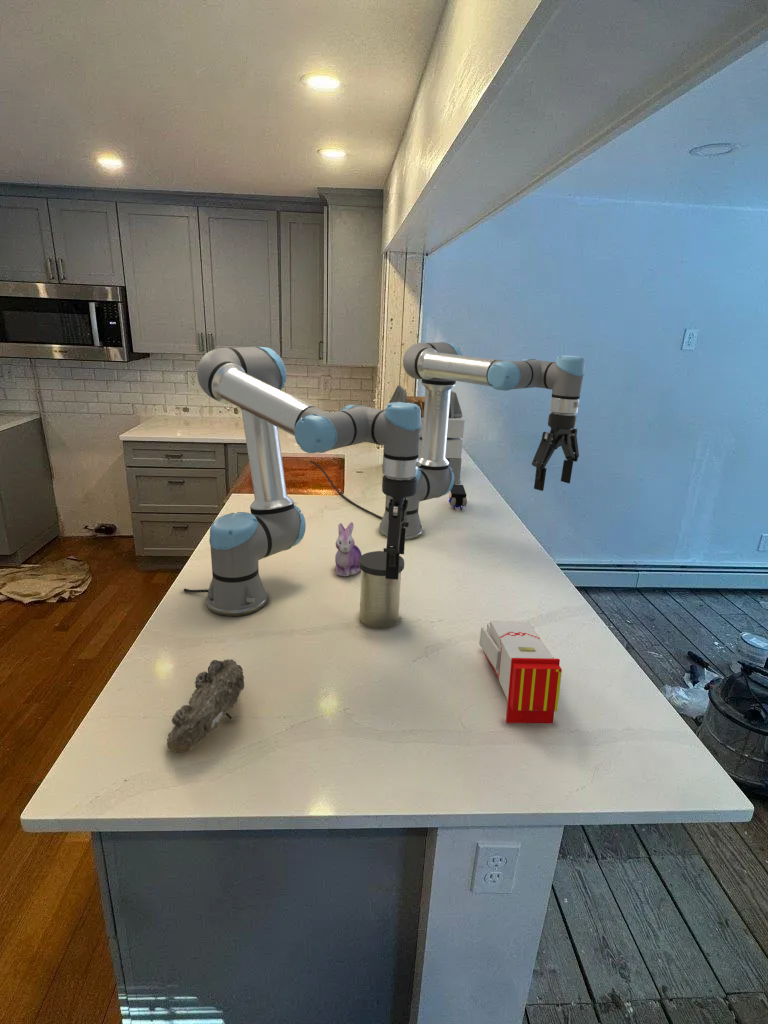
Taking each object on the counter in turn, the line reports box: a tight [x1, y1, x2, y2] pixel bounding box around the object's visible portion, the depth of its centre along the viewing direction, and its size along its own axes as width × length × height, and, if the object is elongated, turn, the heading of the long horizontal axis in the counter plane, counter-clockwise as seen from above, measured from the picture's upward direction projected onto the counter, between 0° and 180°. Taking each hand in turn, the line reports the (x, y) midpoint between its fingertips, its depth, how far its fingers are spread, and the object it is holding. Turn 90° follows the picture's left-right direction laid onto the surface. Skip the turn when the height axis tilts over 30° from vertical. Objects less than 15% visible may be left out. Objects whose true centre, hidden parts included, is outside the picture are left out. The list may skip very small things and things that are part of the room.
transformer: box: [388, 384, 465, 484], centre depth 268 cm, size 34×33×41 cm
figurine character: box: [448, 483, 468, 511], centre depth 230 cm, size 7×8×15 cm
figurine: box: [334, 521, 363, 577], centre depth 168 cm, size 9×10×15 cm
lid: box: [359, 550, 405, 576], centre depth 140 cm, size 11×11×2 cm
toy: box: [478, 620, 563, 725], centre depth 121 cm, size 12×13×30 cm
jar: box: [359, 570, 402, 630], centre depth 142 cm, size 10×10×16 cm
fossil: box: [166, 658, 245, 754], centre depth 106 cm, size 22×10×15 cm
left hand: (395, 565), depth 129 cm, fingers open, 13 cm apart
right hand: (552, 485), depth 166 cm, fingers open, 13 cm apart
